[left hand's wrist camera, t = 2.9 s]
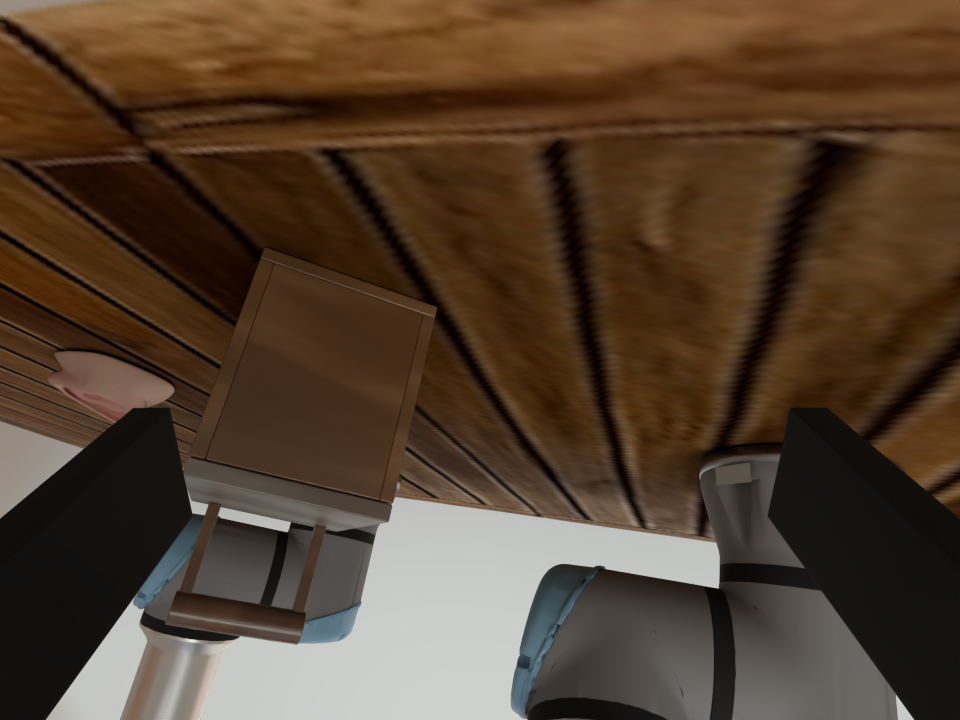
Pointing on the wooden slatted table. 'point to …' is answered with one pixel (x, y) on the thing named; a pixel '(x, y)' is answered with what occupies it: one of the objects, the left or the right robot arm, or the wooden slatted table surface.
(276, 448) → the chest
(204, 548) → the lid
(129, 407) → the anatomical model
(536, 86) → the wooden slatted table surface
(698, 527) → the wooden slatted table surface
